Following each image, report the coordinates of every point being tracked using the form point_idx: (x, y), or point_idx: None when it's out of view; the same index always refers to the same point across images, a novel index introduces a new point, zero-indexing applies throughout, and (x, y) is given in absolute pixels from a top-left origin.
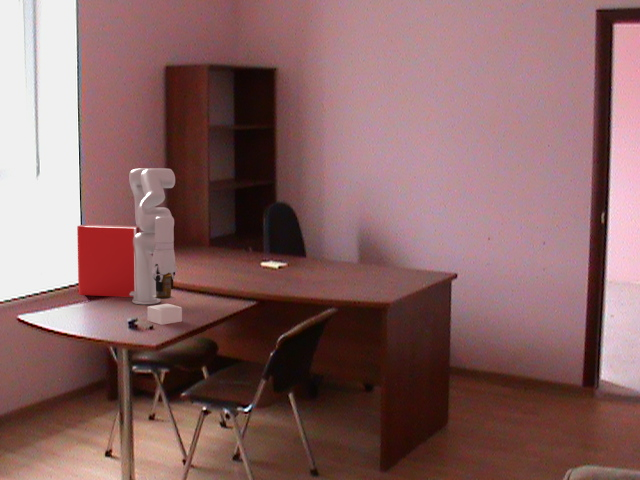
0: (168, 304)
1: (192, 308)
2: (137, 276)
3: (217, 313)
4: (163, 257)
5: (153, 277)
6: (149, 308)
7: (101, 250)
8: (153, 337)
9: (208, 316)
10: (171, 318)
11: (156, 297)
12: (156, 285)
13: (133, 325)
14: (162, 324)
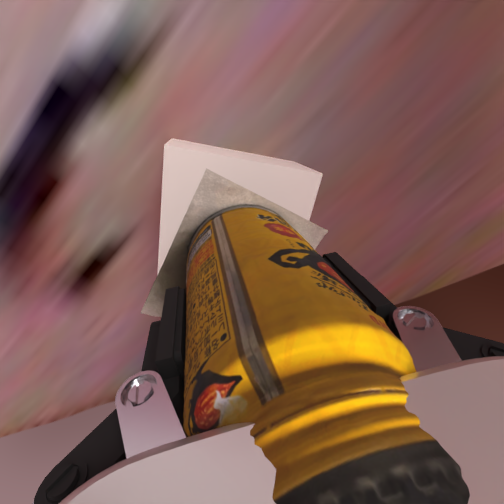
0: (303, 197)
1: (500, 107)
2: None
3: (440, 256)
4: None
5: (38, 490)
6: (164, 170)
7: None
8: (8, 383)
9: (385, 270)
10: None
11: (183, 248)
12: (147, 350)
13: (36, 171)
14: None
